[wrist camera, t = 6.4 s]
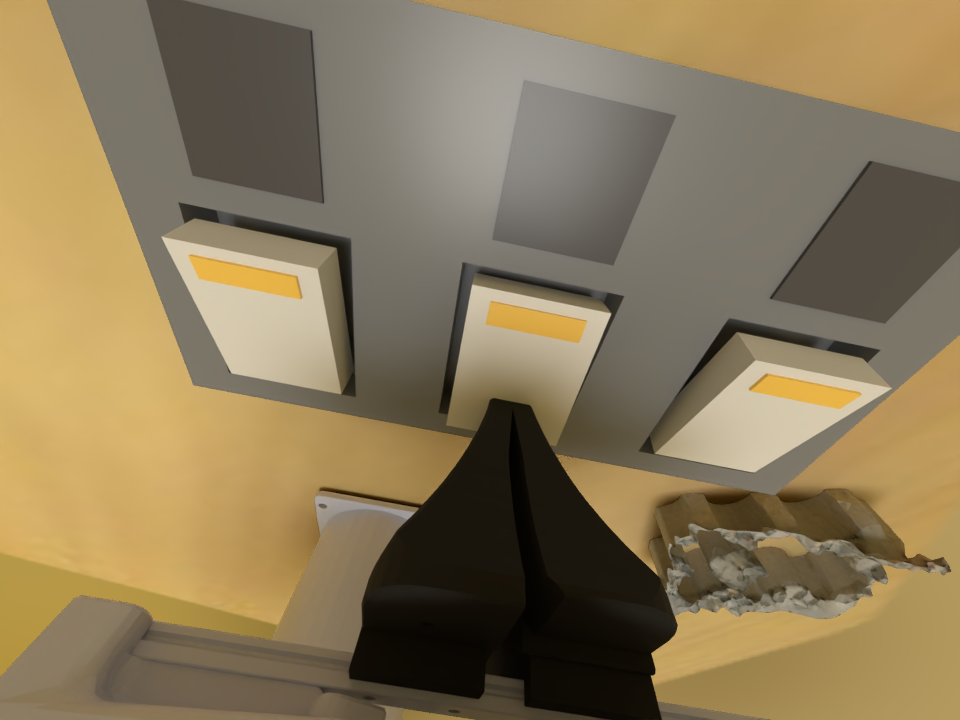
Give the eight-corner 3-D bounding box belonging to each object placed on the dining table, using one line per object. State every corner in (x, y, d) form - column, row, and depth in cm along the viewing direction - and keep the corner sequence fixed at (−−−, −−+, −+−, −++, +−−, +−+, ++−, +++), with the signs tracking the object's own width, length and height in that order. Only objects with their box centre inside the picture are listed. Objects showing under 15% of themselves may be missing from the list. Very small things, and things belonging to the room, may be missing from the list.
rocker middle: (551, 423, 13) (556, 448, 12) (450, 404, 13) (445, 427, 12) (600, 299, 11) (612, 314, 9) (475, 273, 10) (471, 285, 9)
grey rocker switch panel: (743, 452, 16) (776, 497, 14) (233, 353, 15) (191, 386, 13) (1013, 167, 9) (1150, 176, 7) (124, -43, 8) (3, -99, 6)
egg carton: (881, 480, 17) (976, 567, 13) (816, 557, 21) (876, 639, 18) (657, 482, 18) (692, 563, 15) (637, 555, 22) (660, 631, 19)
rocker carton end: (740, 445, 14) (754, 475, 13) (647, 427, 14) (655, 456, 13) (862, 358, 10) (894, 391, 9) (736, 331, 10) (757, 362, 9)
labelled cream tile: (353, 371, 13) (340, 396, 12) (250, 350, 13) (229, 375, 12) (336, 247, 10) (316, 270, 9) (194, 218, 9) (157, 238, 9)
